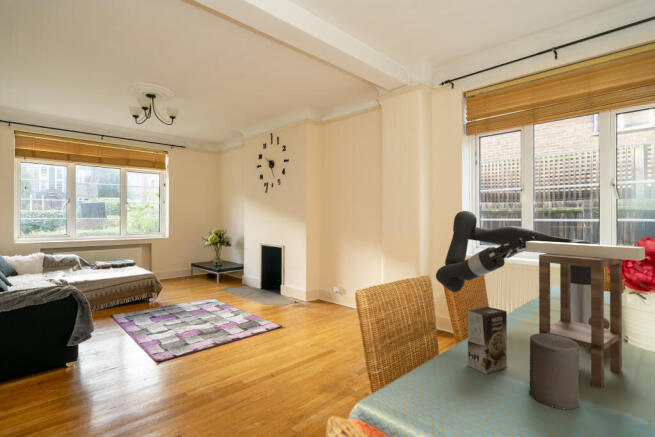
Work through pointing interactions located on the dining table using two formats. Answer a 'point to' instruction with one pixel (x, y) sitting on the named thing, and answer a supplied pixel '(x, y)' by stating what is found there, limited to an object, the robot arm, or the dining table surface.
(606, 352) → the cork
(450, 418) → the dining table surface
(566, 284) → the walnut shelf
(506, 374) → the dining table surface
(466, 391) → the dining table surface
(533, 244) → the cutlery box
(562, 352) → the pillar candle
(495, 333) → the coffee box
